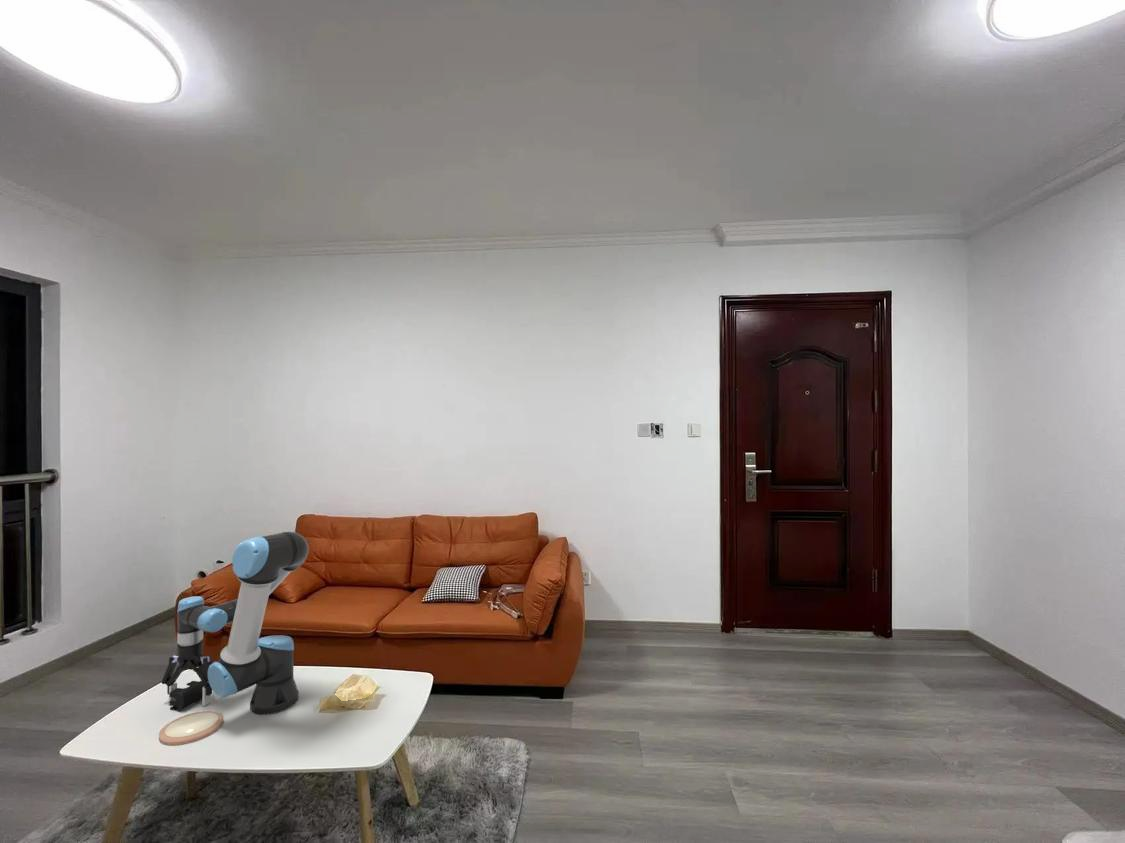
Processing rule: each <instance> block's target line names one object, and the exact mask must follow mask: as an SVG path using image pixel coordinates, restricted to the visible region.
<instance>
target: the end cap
mask: <svg viewBox="0 0 1125 843" xmlns="http://www.w3.org/2000/svg"><path fill="white" fill-rule="evenodd" d="M186 686H187V687H185V688H184V687H183V688H182V687H181V688H180V687H177V689H175V690H173V691H171V692H170V697H171V698H175V699H176V701H171V700H170V701H169V700H168V706H169V707H170V708H169V709H170V710H171V711H175V712H180V711H183V710H184V709H186V708H188V707H190V706H192V705H195V704H196V703H198V702H200V701H202V697H203V687H204V686H205V685H204V684H203V682H202V681H201V680H200V681H198V680H192V681H190V682H187V683H186Z"/></svg>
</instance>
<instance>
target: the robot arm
mask: <svg viewBox="0 0 1125 843" xmlns="http://www.w3.org/2000/svg"><path fill="white" fill-rule="evenodd" d="M309 548H310V546H309V544H308V541H307V539H306V538H305V537H304V536H303V535H302V534H300V533H298V532H295V531H284V532H279V533H274V534H270V535H263V536H255V537H252V538H248V539H246V540H244V541H242V542H240V543H239V544H238V545H237V546H236V548H235V549H234V552H233V553H232V558H231V565H233V566H232V571H233V573H234V575H236V577H237V580H239V582H241V583H240V587H239V591H238V597H237V598H235V599H232V600H229V601H226V602H224V603H223V602H222V603H219V604H216V605H212V606H208V605H205V600H204V597H202V596H195V595H194V596H190V597H185V598H182V599H180V600H179V602H178V603H177V604H178V605H177V611H176V612H177V638H176V639H177V640H176V643H177V646H176V649H177V650H176V654H174V655H173V656H170V657H169V658H168V665H167V668H166V670H165V672H164V674H163V677H162V680H161V684H162V685H166V688H167V689H166V690H167V691H166V693H167V695H168V702H169V701H170V700H171V701H176V699H175V698H171V697H170V692H171V691H173V690H175V689H177V688H178V682H177V680H178V678H179V677H180V675H181V674H182V673H183V672H184V670H189V671H190V670H192V671H193V672H194V673H195V674H196V675H197V676H198V677H199V679H200V681H202V682H203V684H204V685H205V686H204V687H203V697H202V700H201V701H202V703H201V704H202V705H201V706H202V707H205V706H207V705H208V704H210V703H211V694H212V693H214V694H216V696H218V697H220V698H227V697H230V696H233V695H236V694H238V693H240V692H242V691H243V690H246V689H249V688H250V687H253V686H255V688H254V690H253V693H252V696H251V698H250V701H249V710H250V712H251V713H253V714H255V715H264V716H265V715H271V714H276V713H280V712H283V711H286V710H288V709H290V708H292V707H293V706H295V705H296V703H297V702H298V701H299V699H300V698H299V696H300V695H299V692H300V691H299V689H298V686H297V683H296V681H295V678H294V661H295V660H294V655H295V654H294V653H295V652H294V651H295V645H294V640H293V638H292V637H291V636H288V635H283V634H281V635H278V634H277V635H268V636H264V637H260V636H261V632H262V626H263V622H264V618H265V613H266V610H267V604H268V601H269V596H270V595H271V594H273V592H274V590H276V589H277V588H278V586H279V585H280V584H281V583H283V581H284V580H285V579H286V578H287V577H288V576H289V575H290V573H291V572H295V571H296V570H298V569H299V568H300V567H301V566H302V565H303V564H304V562H306V560H307V557H308V555H309V551H310V549H309ZM228 624H231V629H230V632H229V638H228V642H227V645H226V646H225V647H224V648H222V650H221V651H220V654H219V658H218V661H214V662H212V655H210V654H209V655H207V656H204V655H203V651H204V640H203V639H204V632H205V633H216V632H219V631H220V630H222V629H223V628H224V627H225V626H226V625H228ZM177 663H179V664H178V666H177Z"/></svg>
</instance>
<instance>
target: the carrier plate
mask: <svg viewBox="0 0 1125 843" xmlns="http://www.w3.org/2000/svg"><path fill="white" fill-rule="evenodd" d="M223 724H224V715H223V712H222V713H221V712H220V711H216V710H205V711H204V710H203V711H197V712H193V713H189V714H186V715H183V716H181V717H178V718H176V719H173V720H171V721H170V722H168V723H166V725H164V726H163V727H162V728H161V729H160V731H159V732H158V741H159V743H160V744H162V745H165V746H181V745H186V744H191V743H194V742H197V741H198V742H199V741H200V740H203V739H205V738H208V737H209V736H212V735H213V734H214V733H215V732H217V731H219V730H220V729H221V727H223Z"/></svg>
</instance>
